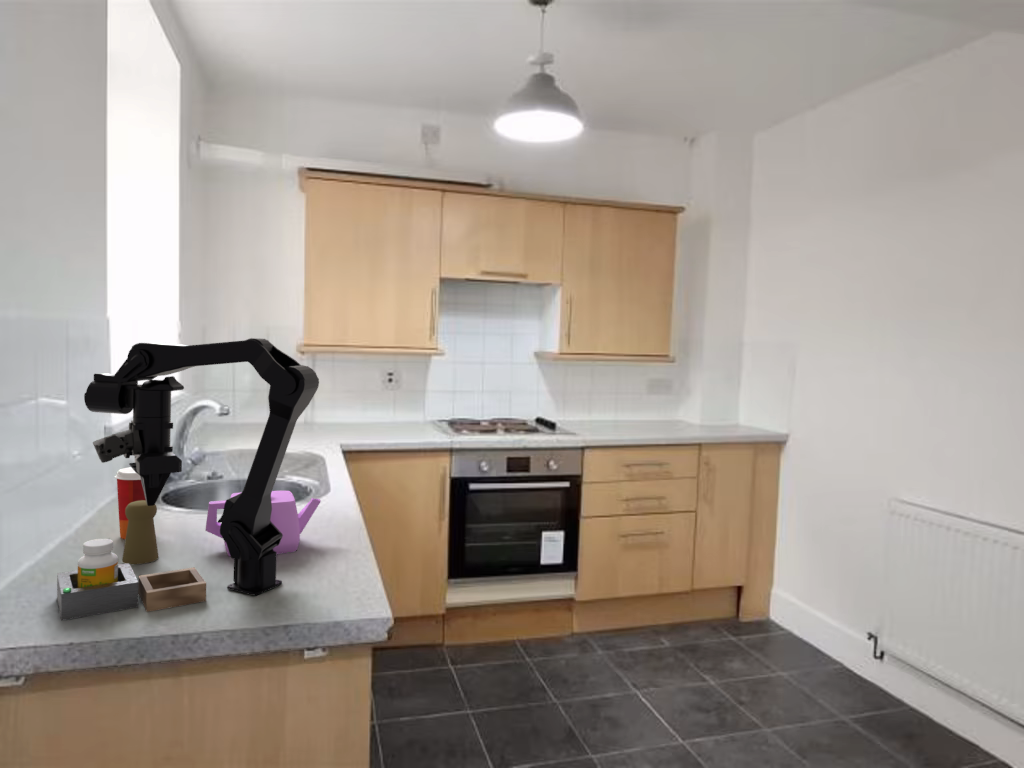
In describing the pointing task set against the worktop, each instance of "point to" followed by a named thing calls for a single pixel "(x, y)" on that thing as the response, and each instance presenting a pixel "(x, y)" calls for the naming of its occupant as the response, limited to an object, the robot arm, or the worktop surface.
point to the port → (96, 594)
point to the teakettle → (273, 519)
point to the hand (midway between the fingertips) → (150, 505)
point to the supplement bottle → (97, 564)
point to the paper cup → (127, 494)
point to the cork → (140, 534)
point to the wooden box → (171, 589)
